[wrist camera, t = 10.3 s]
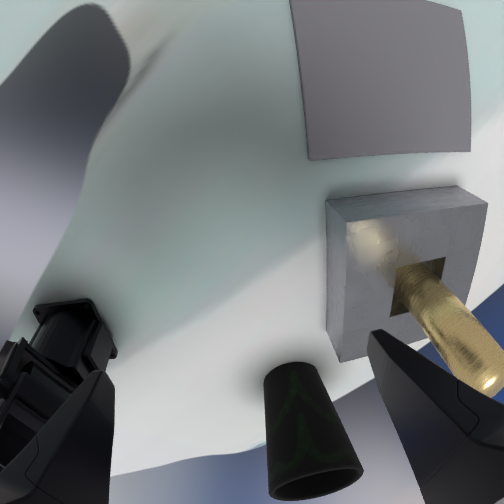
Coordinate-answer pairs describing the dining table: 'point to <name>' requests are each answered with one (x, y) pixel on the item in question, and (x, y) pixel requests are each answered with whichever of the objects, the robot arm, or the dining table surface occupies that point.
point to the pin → (451, 329)
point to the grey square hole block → (395, 258)
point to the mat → (382, 77)
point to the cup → (305, 436)
